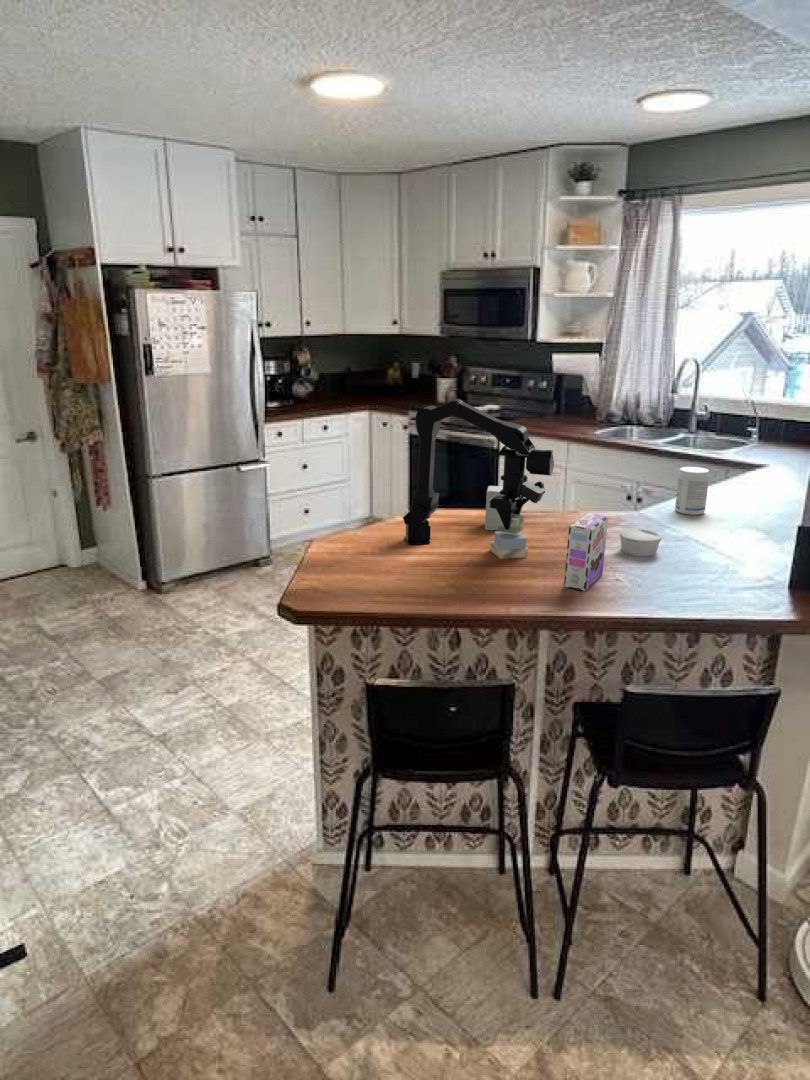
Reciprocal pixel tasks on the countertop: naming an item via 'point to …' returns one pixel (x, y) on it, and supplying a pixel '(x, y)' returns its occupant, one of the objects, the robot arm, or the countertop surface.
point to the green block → (512, 524)
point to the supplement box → (492, 513)
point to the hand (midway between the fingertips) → (510, 526)
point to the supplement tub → (692, 490)
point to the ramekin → (639, 542)
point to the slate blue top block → (510, 540)
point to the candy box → (585, 551)
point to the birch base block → (508, 552)
